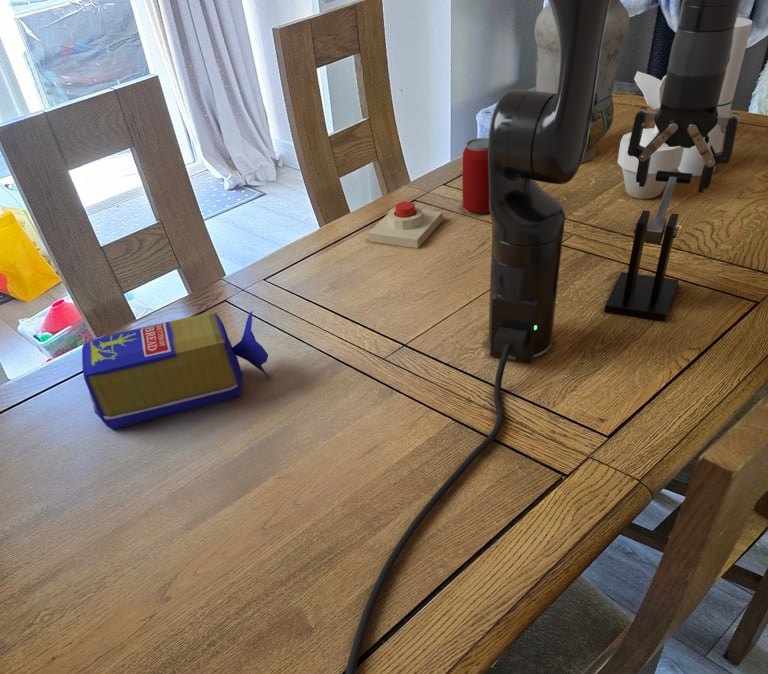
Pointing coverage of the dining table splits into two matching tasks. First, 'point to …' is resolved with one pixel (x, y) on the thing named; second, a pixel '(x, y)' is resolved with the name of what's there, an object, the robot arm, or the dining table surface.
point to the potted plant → (660, 159)
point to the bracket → (645, 279)
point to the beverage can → (476, 176)
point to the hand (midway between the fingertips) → (671, 187)
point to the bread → (166, 368)
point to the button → (405, 209)
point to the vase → (606, 74)
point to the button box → (406, 228)
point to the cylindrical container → (721, 98)
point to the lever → (664, 204)
